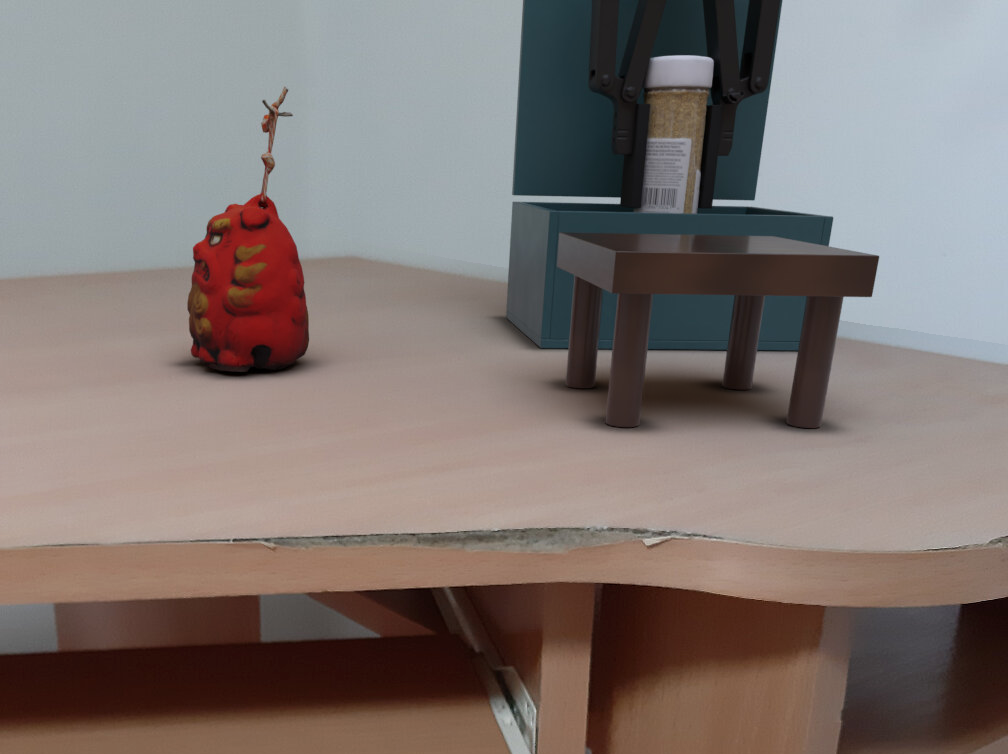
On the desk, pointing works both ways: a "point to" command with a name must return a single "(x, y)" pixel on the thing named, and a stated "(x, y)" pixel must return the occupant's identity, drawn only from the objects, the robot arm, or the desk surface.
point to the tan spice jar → (675, 132)
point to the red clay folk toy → (249, 283)
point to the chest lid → (609, 101)
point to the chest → (674, 318)
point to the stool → (707, 271)
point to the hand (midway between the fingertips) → (665, 206)
